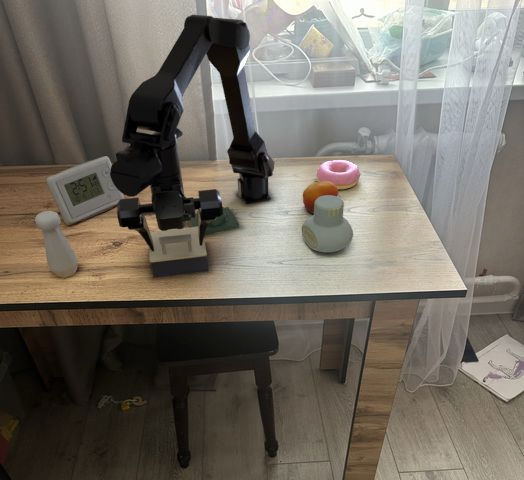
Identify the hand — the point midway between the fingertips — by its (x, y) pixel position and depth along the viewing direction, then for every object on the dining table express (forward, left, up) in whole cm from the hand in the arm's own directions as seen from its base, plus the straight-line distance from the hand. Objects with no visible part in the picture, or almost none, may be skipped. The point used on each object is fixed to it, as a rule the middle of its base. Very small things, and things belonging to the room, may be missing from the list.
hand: (177, 247), depth 98 cm
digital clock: (+14, -32, -6) cm, 35 cm away
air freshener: (-31, +2, -6) cm, 32 cm away
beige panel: (-1, -3, -1) cm, 4 cm away
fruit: (-36, -12, -6) cm, 38 cm away
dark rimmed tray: (-1, -4, -6) cm, 7 cm away
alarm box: (-11, -15, -6) cm, 20 cm away
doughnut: (-46, -23, -6) cm, 52 cm away
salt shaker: (+22, -9, -6) cm, 24 cm away
